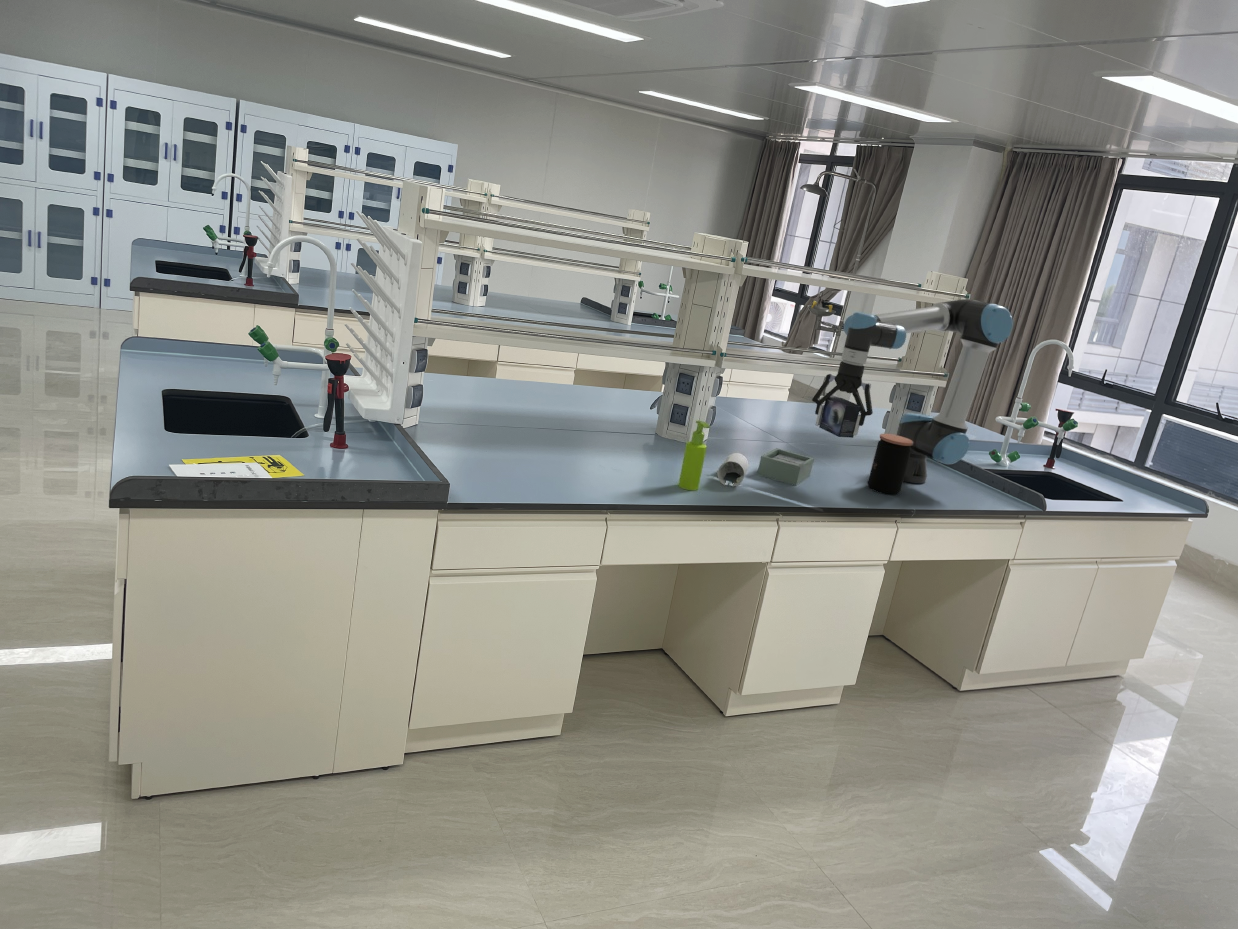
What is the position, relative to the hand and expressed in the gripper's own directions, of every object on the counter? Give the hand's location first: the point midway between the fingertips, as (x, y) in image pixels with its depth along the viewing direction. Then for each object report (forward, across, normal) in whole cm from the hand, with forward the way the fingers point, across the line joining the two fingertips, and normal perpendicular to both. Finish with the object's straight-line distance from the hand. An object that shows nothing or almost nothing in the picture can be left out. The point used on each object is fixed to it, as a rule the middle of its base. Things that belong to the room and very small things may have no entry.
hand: (836, 430), depth 278 cm
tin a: (+18, -12, -1) cm, 22 cm away
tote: (+19, -12, -4) cm, 23 cm away
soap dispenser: (+19, -29, -44) cm, 56 cm away
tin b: (+18, -12, -8) cm, 23 cm away
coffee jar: (+19, +17, +16) cm, 30 cm away
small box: (+1, 0, 0) cm, 1 cm away
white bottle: (+19, -24, -23) cm, 38 cm away
